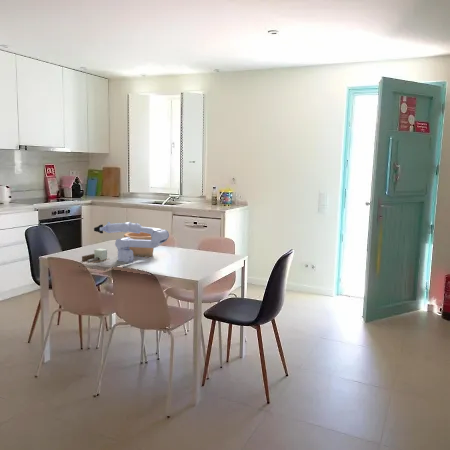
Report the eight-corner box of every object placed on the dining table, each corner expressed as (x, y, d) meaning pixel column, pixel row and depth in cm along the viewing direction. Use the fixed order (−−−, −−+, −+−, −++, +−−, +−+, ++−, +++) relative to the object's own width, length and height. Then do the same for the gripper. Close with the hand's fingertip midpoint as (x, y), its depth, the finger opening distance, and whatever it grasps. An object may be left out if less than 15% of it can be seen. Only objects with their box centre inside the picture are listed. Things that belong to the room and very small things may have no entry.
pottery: (133, 260, 295) (134, 238, 293) (118, 253, 312) (118, 233, 310) (162, 256, 309) (162, 235, 306) (146, 250, 325) (146, 230, 323)
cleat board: (110, 261, 288) (110, 254, 288) (94, 265, 276) (93, 258, 276) (98, 259, 293) (98, 252, 292) (82, 263, 281) (81, 256, 280)
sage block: (107, 258, 289) (107, 249, 288) (101, 260, 284) (101, 250, 283) (100, 257, 291) (100, 248, 291) (94, 259, 287) (94, 249, 286)
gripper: (121, 221, 294) (105, 222, 299) (107, 222, 281) (90, 223, 286) (122, 231, 294) (106, 233, 300) (108, 233, 281) (91, 234, 286)
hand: (98, 229), depth 293 cm, fingers open, 7 cm apart
